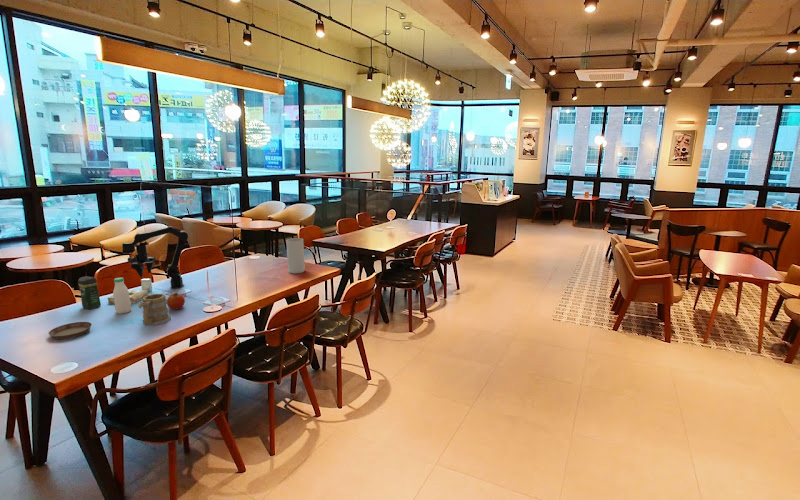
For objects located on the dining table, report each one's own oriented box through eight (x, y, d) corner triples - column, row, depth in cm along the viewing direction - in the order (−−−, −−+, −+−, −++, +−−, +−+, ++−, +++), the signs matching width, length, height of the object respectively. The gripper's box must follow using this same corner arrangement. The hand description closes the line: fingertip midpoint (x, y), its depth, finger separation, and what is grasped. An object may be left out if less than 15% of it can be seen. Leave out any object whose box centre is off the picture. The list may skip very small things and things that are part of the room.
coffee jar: (103, 306, 257) (98, 276, 253) (89, 310, 250) (83, 279, 246) (94, 303, 262) (89, 274, 257) (80, 307, 255) (74, 277, 251)
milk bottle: (134, 310, 250) (129, 277, 246) (122, 314, 243) (117, 280, 239) (125, 308, 253) (119, 275, 248) (112, 313, 246) (107, 279, 241)
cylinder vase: (302, 273, 323) (301, 241, 318) (286, 273, 323) (284, 241, 318) (306, 269, 335) (304, 238, 330) (290, 269, 336) (288, 238, 330)
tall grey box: (152, 290, 287) (150, 278, 285) (149, 291, 284) (148, 279, 282) (144, 290, 287) (143, 278, 285) (142, 291, 284) (140, 279, 282)
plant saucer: (44, 343, 207) (42, 338, 207) (55, 330, 223) (54, 324, 222) (87, 337, 214) (86, 331, 213) (96, 324, 230) (95, 319, 229)
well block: (147, 295, 275) (147, 290, 275) (134, 303, 262) (134, 297, 261) (123, 295, 275) (122, 290, 275) (108, 303, 262) (107, 297, 261)
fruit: (182, 304, 260) (180, 288, 257) (188, 308, 253) (186, 292, 251) (165, 308, 253) (163, 292, 251) (170, 312, 247) (168, 295, 244)
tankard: (152, 316, 241) (149, 291, 237) (174, 316, 240) (171, 291, 237) (129, 331, 221) (125, 303, 218) (153, 331, 221) (149, 303, 217)
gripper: (138, 248, 288) (141, 271, 292) (120, 255, 270) (124, 279, 274) (154, 248, 288) (157, 271, 292) (138, 255, 270) (141, 279, 274)
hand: (145, 275), depth 283 cm, fingers open, 9 cm apart
